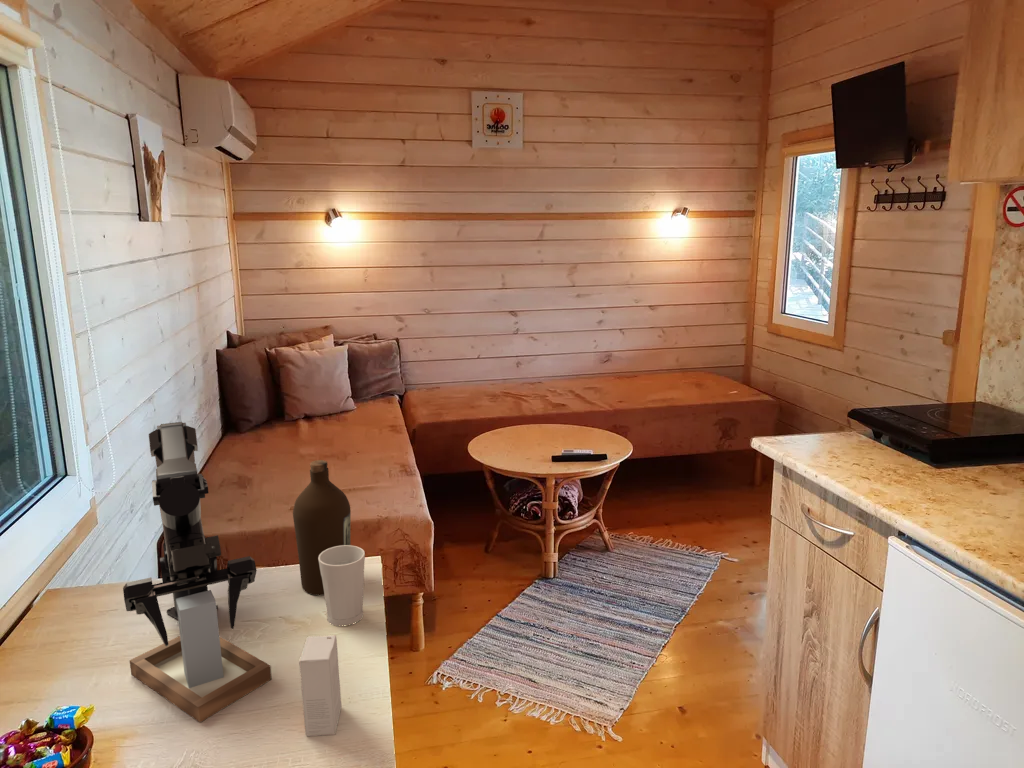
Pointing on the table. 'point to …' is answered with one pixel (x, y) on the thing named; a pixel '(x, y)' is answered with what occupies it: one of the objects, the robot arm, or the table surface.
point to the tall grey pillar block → (199, 638)
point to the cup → (343, 583)
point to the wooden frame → (204, 700)
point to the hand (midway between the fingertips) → (200, 636)
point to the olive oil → (319, 524)
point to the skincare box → (320, 685)
